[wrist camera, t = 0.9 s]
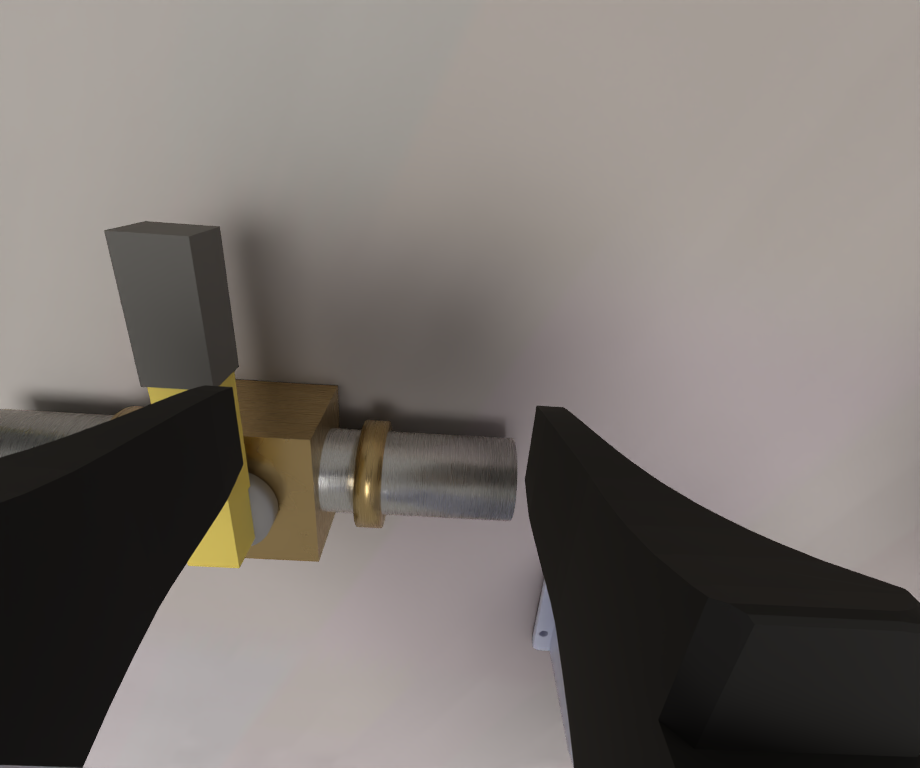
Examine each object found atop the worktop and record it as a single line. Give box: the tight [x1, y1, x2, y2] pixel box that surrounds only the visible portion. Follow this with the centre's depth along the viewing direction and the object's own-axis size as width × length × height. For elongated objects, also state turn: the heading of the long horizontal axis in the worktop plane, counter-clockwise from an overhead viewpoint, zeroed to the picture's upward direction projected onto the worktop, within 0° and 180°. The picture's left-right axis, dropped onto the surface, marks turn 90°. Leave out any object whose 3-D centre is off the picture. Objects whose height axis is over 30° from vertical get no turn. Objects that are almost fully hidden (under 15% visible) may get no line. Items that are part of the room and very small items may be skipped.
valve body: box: [0, 380, 517, 562], centre depth 21 cm, size 22×6×5 cm, turn 86°
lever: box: [104, 221, 278, 568], centre depth 16 cm, size 12×3×2 cm, turn 176°
